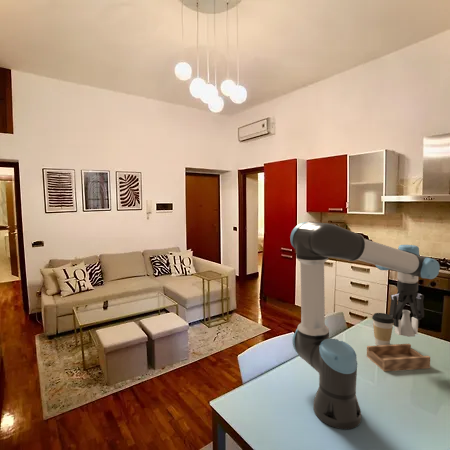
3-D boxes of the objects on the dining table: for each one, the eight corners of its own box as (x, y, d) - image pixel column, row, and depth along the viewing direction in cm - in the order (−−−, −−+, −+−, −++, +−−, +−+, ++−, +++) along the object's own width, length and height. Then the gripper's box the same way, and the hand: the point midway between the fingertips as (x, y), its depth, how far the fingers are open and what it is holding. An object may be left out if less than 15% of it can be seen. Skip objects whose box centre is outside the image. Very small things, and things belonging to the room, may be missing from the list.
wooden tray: (384, 371, 122) (384, 360, 122) (366, 356, 134) (367, 346, 134) (429, 368, 124) (430, 357, 124) (408, 353, 137) (409, 343, 136)
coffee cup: (393, 343, 147) (394, 314, 146) (392, 351, 139) (394, 321, 138) (372, 338, 152) (373, 311, 152) (370, 346, 144) (371, 317, 143)
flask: (418, 338, 120) (419, 314, 119) (399, 336, 121) (399, 313, 121) (411, 330, 127) (412, 308, 126) (393, 329, 128) (394, 307, 128)
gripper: (391, 284, 118) (389, 338, 119) (436, 282, 119) (434, 336, 121) (380, 279, 125) (378, 330, 127) (422, 278, 127) (421, 328, 128)
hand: (406, 333), depth 124 cm, fingers closed on flask, 7 cm apart
